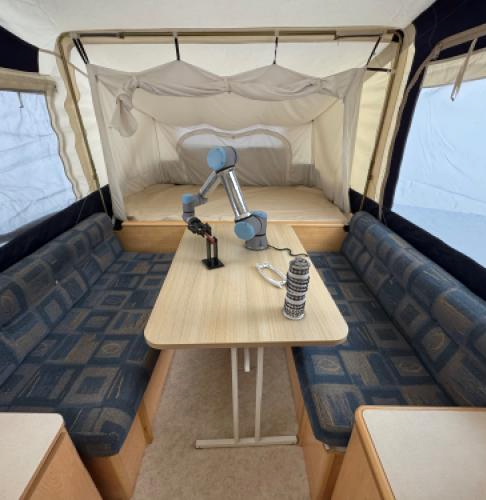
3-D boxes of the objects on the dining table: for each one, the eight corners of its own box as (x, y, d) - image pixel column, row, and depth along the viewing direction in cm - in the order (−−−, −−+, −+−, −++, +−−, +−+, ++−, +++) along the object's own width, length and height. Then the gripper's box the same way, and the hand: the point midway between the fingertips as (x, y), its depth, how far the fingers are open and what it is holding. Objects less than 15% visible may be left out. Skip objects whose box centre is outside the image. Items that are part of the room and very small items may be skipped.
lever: (200, 233, 155) (199, 227, 154) (205, 232, 157) (205, 226, 155) (209, 245, 144) (209, 240, 142) (215, 244, 146) (215, 238, 144)
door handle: (267, 263, 152) (293, 285, 131) (252, 267, 148) (276, 290, 127) (267, 259, 150) (293, 280, 130) (252, 263, 147) (276, 285, 126)
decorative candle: (278, 314, 111) (283, 261, 100) (287, 303, 118) (293, 253, 107) (299, 323, 106) (307, 268, 95) (307, 311, 113) (315, 258, 102)
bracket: (201, 261, 154) (200, 236, 147) (216, 258, 157) (215, 233, 151) (208, 269, 145) (207, 243, 138) (223, 266, 148) (223, 240, 142)
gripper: (206, 226, 173) (221, 238, 155) (181, 230, 167) (193, 243, 148) (206, 215, 170) (220, 226, 151) (180, 218, 163) (192, 231, 144)
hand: (207, 234), depth 150 cm, fingers closed on lever, 4 cm apart
